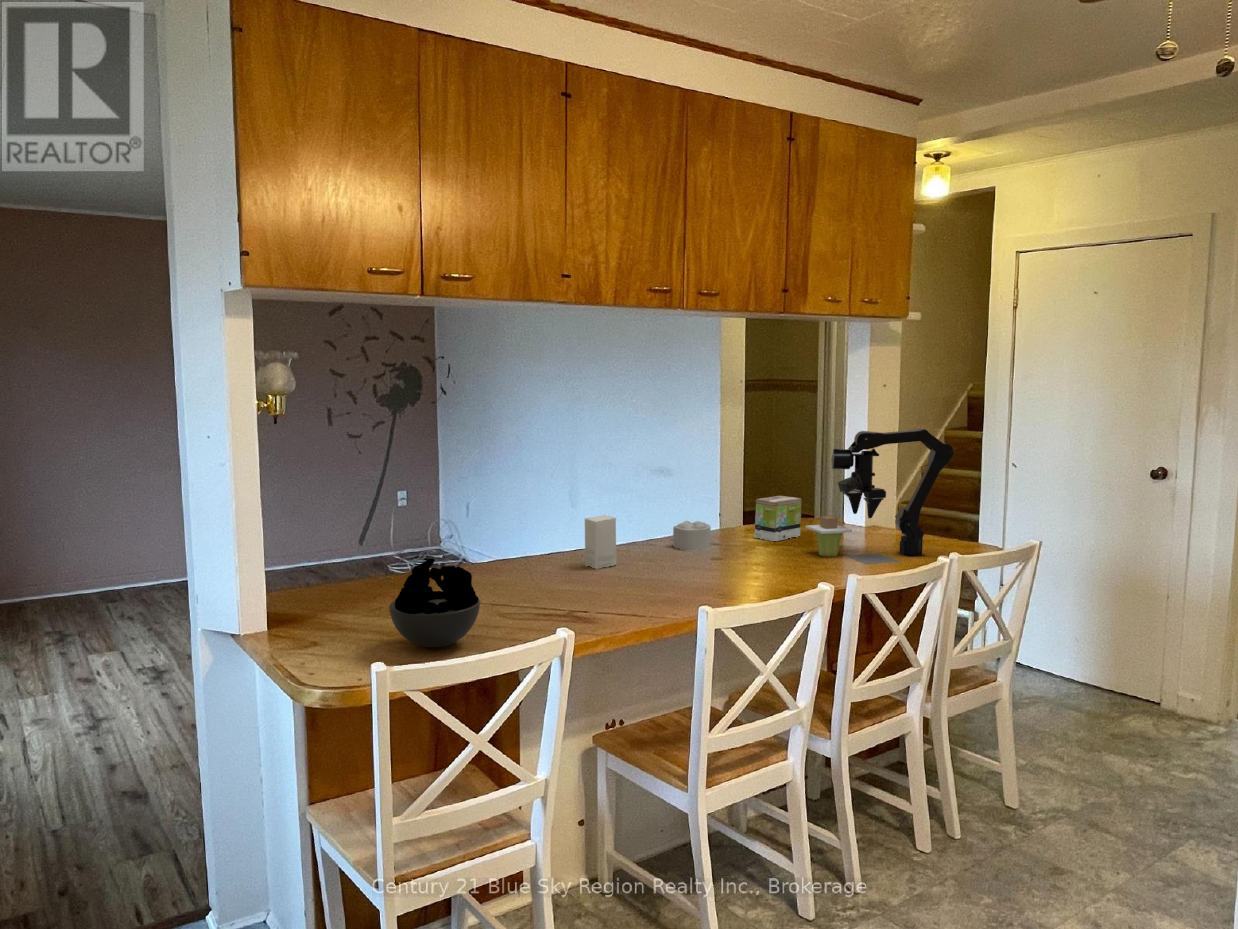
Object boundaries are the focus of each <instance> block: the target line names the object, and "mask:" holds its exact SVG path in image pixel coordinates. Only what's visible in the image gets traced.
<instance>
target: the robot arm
mask: <svg viewBox="0 0 1238 929" xmlns="http://www.w3.org/2000/svg"><path fill="white" fill-rule="evenodd" d="M912 442H913V443H914V442H920V443H921V444H922V445H924V446H925V447H926V448H927V449H928V450H929V454H928V460H927V464H926V468H925V469H924V471H923V474H922V476H921V478H920V480H919V482H918V484H917V486H916V488H915V489H914V492H913V494H912V496H911V498H910V500H909V502H908V503H907V505H906V506H905V507H903V506H900V507H899V508H898V512H897V514H896V515H895V516H894V518H895V520H894V521H895V522H894V523H895V526H896V528H897V529H898V530H900V532H901V534H902V535H901V536H900V541H899V551H898V552H897V553H898V554H900V555H903V556H906V557H908V558H909V557H910V558H911V557H922V556H923V557H924V556H926V554H925V553H923V544H924V543H923V542H924V540H923V539H924V535H925V533H924V532H923V531H922V530H921V529H920V528H919V526H918V525H919V522H920V519H921V518H920V517H921V511H922V508H923V506H924V504H925V502H926V501H927V498H928V497H929V494H930V492H931V490H932V488H933V486H934V484H935V482H936V480H937V479H938V476H939V474H940V473H941V471H943V469H944V468H945V467H946V466H947V465H948V464H949V463H950V461H951V460H952V459H953V457H954V454H955V451H954V448H953V447H952V446H951V444H949V443H945V442H942V441H940V440H939V439H938V438H936V437H935V436H934V435H933V434H931V433H930V432H929V431H928V430H927V429H925V428H917V429H908V430H898V431H897V430H896V431H888V432H878V431H867V430H862V431H858V432H857V433H856V434H855V436H854V441H853V442H852V443H851V445H849V447H847V448H848V449H847V448H846V449H844V448H843V449H842V448H841V449H840V448H833V449H832V455H831V458H830V459H831V460H830V461H831V469H832V470H850V469H851V468H852V467H853V466H854V471H852V472H851V474H850V477H847V478H844V479H842V480H840V481H838V482H837V486H838V488H839V492H840V493H843V494H844V495H845V496H846V497H847V498H848V500H849V504H850V506H851V509H852V514H853V515H856V514H858V510H859V507H860V504H861V501H862V498H863V500H864V501H865V502H866V508H867V518H868V519H872V518H873V516H874V515H875V513H876V511H877V509H878V507H879V506H880V505H881V502H882V501H884V499H885V498H887V491H886V490H885V489H884V488H881V487H876V485H875V484H873V477H875V476H876V473H875V472H873V470H874V469H873V467H874V465H873V464H874V462H873V461H874V457H880V454H879V453H878V452H877V450H876V449H875V448H878V447H880V446H884V445H891V444H892V445H893V444H903V443H912ZM870 449H871V450H870ZM862 496H863V497H862Z"/></svg>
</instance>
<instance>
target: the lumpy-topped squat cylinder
mask: <svg viewBox="0 0 1238 929" xmlns="http://www.w3.org/2000/svg"><path fill="white" fill-rule="evenodd" d="M711 528H712V527H711V525H710V524H707V522H703V521H699V520H697V521H693V522H691V521H690V520H685V521H683V522H681V523H680V522H679V523H678V524H677V525H674V526H673V529H672V530H673V532H672V534H673V536H672V537H673V539H672V541H673V544H672V545H673V546H674V547H676V548H675V549H678V548H681V549H684V550H683V551H686V550H692V551H696V550H695V549H701V550H703V549H702V548H707V549H709V548H711V532H712V530H711ZM674 547H673V548H674ZM681 549H680V550H681Z"/></svg>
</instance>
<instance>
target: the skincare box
mask: <svg viewBox="0 0 1238 929" xmlns="http://www.w3.org/2000/svg"><path fill="white" fill-rule="evenodd" d="M616 523H617V517H614V516H613V517H612V516H609V515H606V514H605V515H599V516H593V517H592V516H591V517H585V518H584V562H585V563H584V565H585V564H586V565H589V566H592V567H594V568H601V569H603V568H602V567H606V568H610V567H609V566H612V567H615V566H614V565H616V566H617V524H616Z"/></svg>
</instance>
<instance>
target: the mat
mask: <svg viewBox="0 0 1238 929" xmlns="http://www.w3.org/2000/svg"><path fill="white" fill-rule="evenodd" d="M845 557H846V558H849V559H852V560H855V562H856V561H857V562H859V563H862V564H864V565H873V564H876V565H879V564H887V563H889V564H890V563H901V562H903V561H902V560H898V559H896V558H893V557H891V556H888V555H885V554H882V553H880V552H879V553H876V552H875V553H863V554H851V555H850V554H848V555H845Z"/></svg>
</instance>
